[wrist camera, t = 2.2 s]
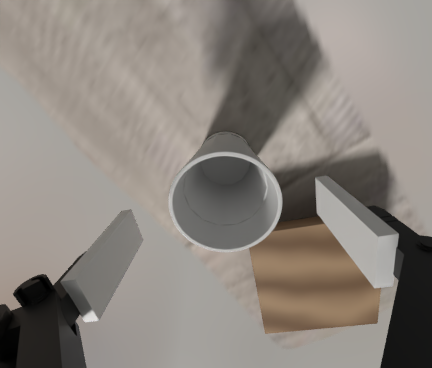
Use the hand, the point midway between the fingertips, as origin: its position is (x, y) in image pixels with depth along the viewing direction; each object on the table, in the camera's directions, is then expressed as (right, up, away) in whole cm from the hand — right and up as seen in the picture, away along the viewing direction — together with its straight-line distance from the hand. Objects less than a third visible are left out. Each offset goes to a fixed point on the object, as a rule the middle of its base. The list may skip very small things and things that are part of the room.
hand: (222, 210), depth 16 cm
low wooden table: (+11, -7, +15) cm, 21 cm away
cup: (+1, +5, +11) cm, 12 cm away
